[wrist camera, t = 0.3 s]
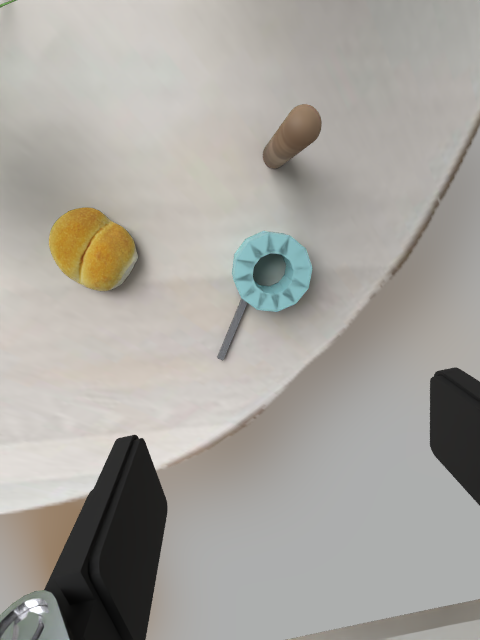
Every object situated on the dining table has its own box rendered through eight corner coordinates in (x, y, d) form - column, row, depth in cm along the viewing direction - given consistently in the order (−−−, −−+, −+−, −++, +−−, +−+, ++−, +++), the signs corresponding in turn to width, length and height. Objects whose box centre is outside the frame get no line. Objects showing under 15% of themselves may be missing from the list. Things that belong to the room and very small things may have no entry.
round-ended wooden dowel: (272, 136, 33) (301, 95, 22) (291, 152, 34) (328, 121, 22) (258, 157, 34) (278, 129, 22) (276, 173, 34) (305, 153, 23)
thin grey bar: (241, 297, 38) (242, 298, 38) (247, 299, 39) (248, 300, 38) (217, 356, 41) (217, 358, 40) (223, 358, 41) (223, 360, 40)
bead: (261, 216, 36) (267, 217, 32) (315, 260, 38) (326, 265, 34) (219, 275, 37) (219, 282, 34) (272, 314, 39) (278, 324, 36)
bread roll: (77, 194, 34) (59, 191, 30) (149, 243, 36) (141, 246, 32) (43, 256, 36) (22, 261, 32) (114, 299, 38) (102, 309, 34)
